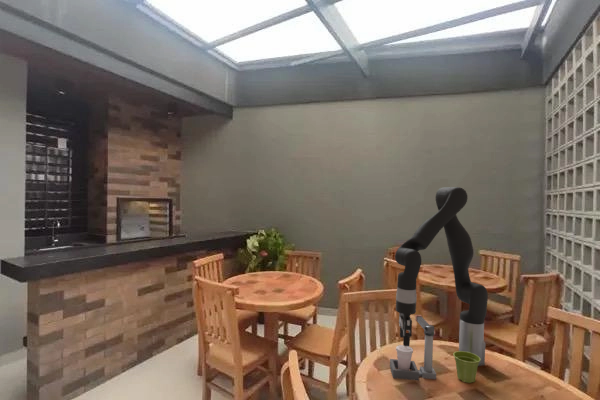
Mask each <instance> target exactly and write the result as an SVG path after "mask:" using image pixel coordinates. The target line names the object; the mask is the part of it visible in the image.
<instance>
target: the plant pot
mask: <svg viewBox="0 0 600 400" xmlns="http://www.w3.org/2000/svg"><path fill="white" fill-rule="evenodd" d="M452 355H453V358H454V360H455V366H456V367H455V368H456V376H457V378H458V380H460V381H462V382H464V383H468V384H471V383H475V382H476V379H477V378H476V377H477V373H478V367H479V366H478V364H479V362H480V360H481V359H480V357H479V356H477V355H475V354H473V353H470V352H465V351H459V350H457V351H454V352H453V353H452Z"/></svg>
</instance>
